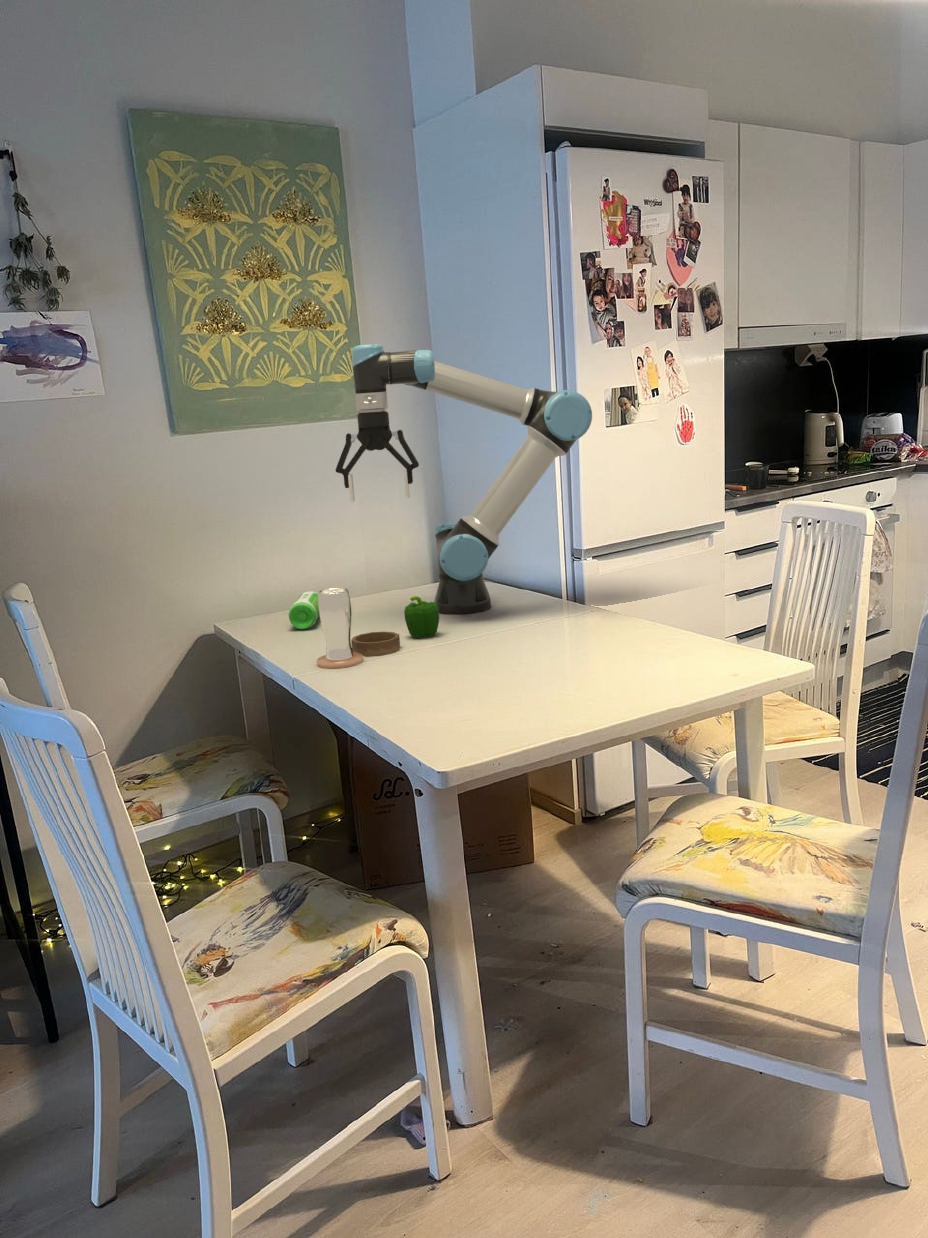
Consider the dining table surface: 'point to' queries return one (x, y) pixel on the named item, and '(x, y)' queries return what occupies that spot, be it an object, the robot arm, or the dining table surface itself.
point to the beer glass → (336, 622)
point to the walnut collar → (376, 643)
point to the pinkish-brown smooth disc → (340, 662)
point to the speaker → (305, 610)
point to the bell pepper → (422, 618)
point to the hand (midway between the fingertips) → (380, 499)
